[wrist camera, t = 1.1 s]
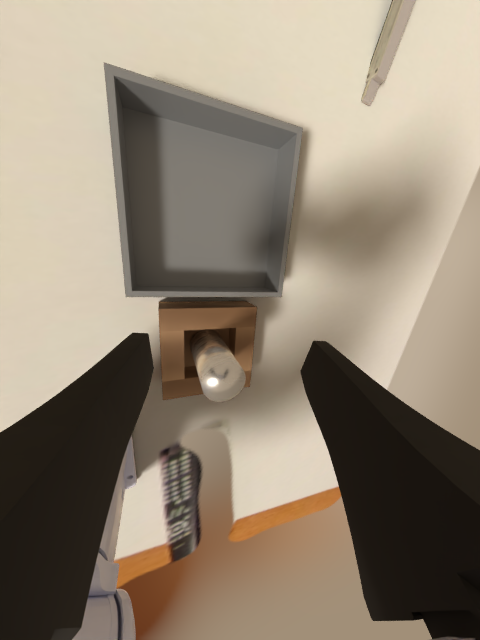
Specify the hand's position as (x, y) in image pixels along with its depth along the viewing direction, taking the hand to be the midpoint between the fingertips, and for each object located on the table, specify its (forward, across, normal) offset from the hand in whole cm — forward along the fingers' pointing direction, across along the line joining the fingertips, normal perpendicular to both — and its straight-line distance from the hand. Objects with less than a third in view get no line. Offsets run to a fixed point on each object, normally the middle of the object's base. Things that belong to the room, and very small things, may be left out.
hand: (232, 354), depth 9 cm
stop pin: (+8, +1, +7) cm, 11 cm away
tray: (+12, +2, -4) cm, 13 cm away
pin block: (+9, +2, +7) cm, 11 cm away
